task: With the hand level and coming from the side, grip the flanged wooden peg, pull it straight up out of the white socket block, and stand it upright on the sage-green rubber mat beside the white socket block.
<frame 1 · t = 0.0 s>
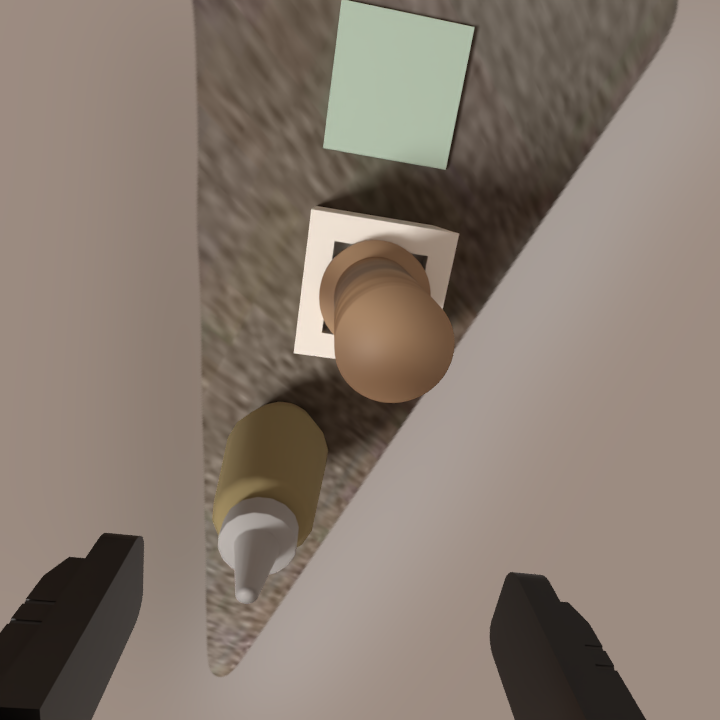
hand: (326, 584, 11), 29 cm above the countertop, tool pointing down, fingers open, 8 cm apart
mat: (396, 90, 33), on the countertop
squeeze bottle: (282, 430, 42), on the countertop
white socket block: (365, 274, 38), on the countertop
flanged wooden peg: (372, 291, 31), point 7 cm above the countertop, touching white socket block
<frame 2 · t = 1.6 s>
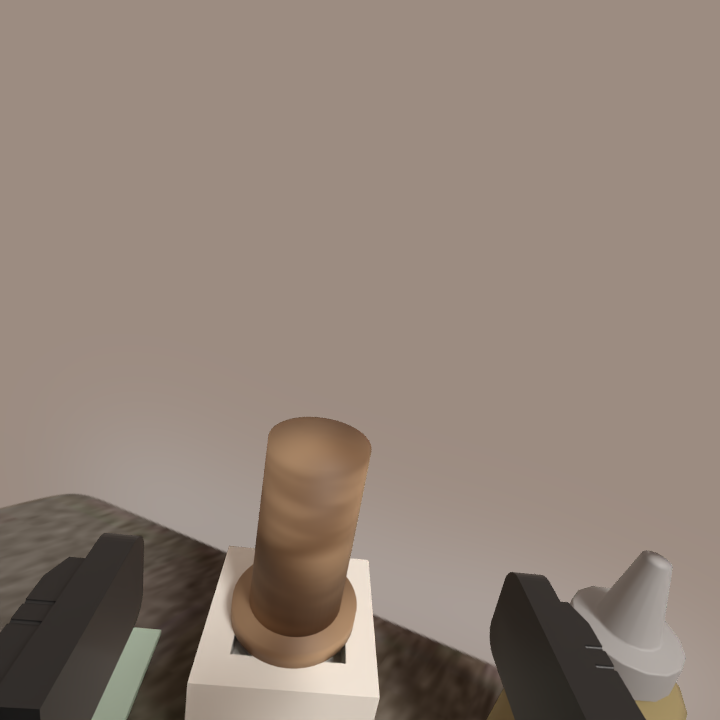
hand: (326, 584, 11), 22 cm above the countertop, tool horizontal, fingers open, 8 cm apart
mat: (55, 694, 28), on the countertop
white socket block: (277, 710, 29), on the countertop
flanged wooden peg: (291, 627, 27), point 7 cm above the countertop, touching white socket block
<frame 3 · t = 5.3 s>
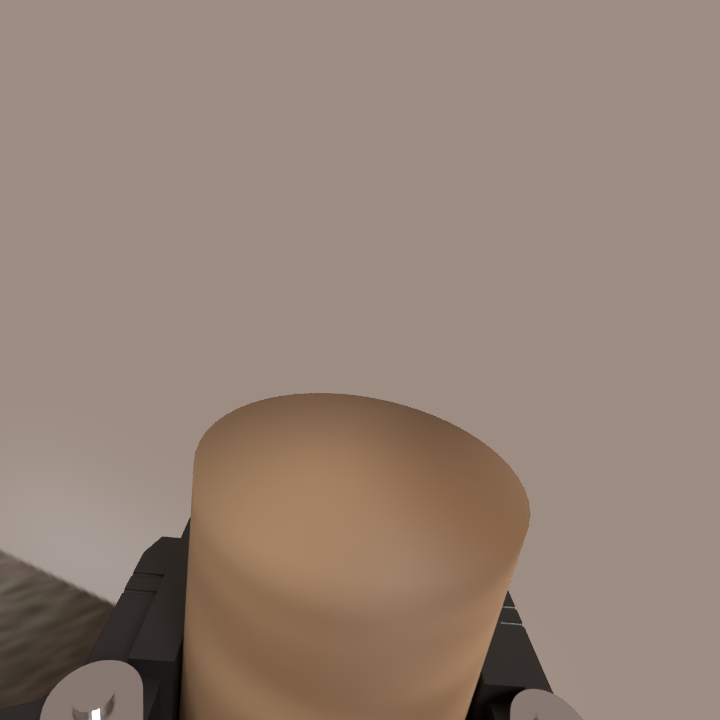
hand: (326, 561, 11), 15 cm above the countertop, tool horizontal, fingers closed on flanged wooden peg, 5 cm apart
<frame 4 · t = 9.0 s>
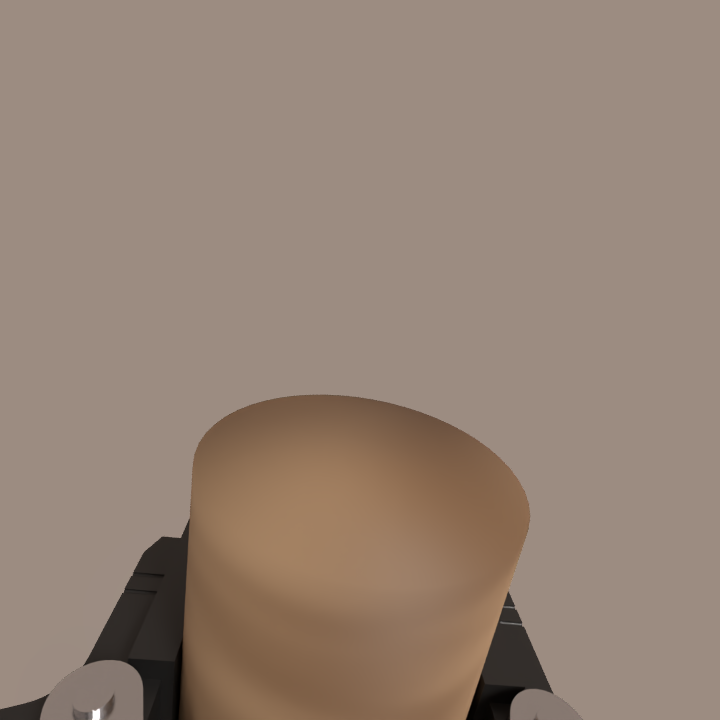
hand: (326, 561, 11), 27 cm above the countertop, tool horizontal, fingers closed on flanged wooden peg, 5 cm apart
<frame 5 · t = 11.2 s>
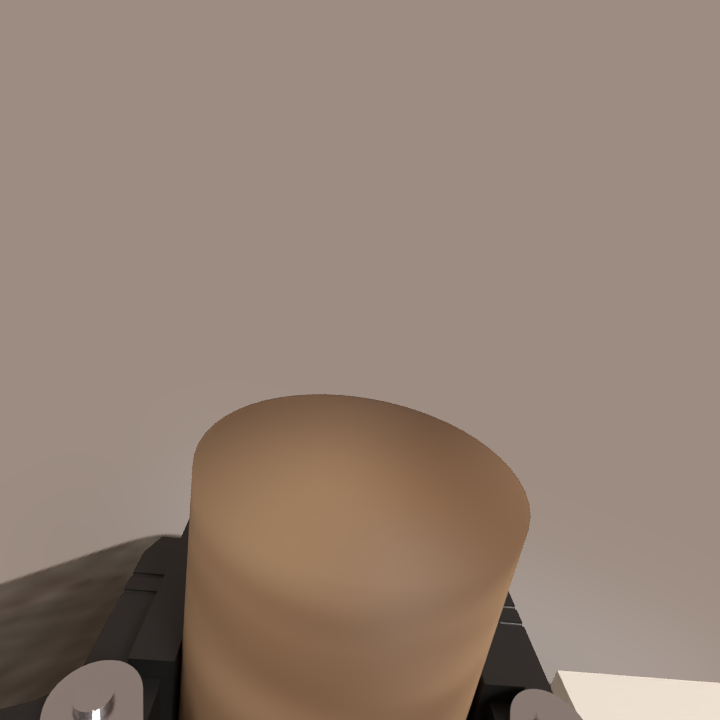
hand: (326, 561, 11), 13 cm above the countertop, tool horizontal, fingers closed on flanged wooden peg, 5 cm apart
when the fingers open (10 cm above the countertop, at t = 12.9 s): flanged wooden peg drops 2 cm, resting on mat.
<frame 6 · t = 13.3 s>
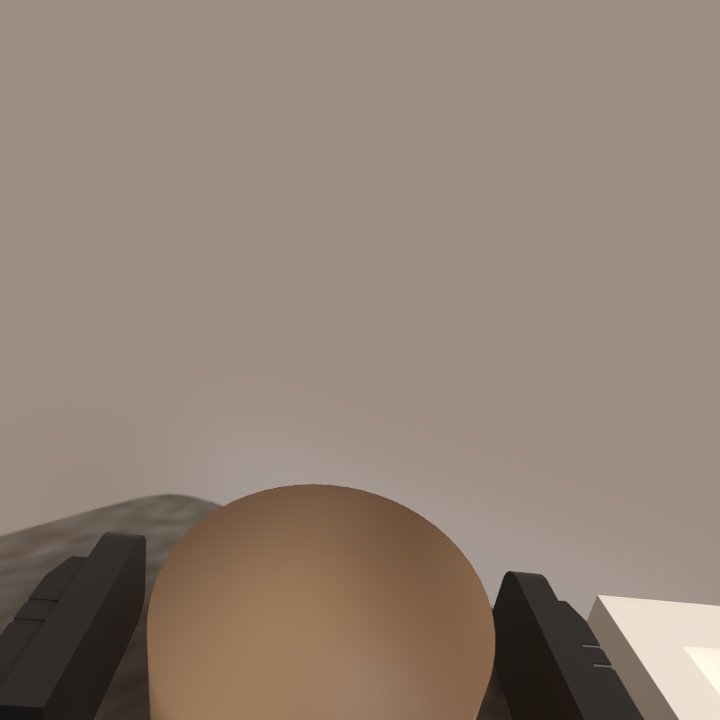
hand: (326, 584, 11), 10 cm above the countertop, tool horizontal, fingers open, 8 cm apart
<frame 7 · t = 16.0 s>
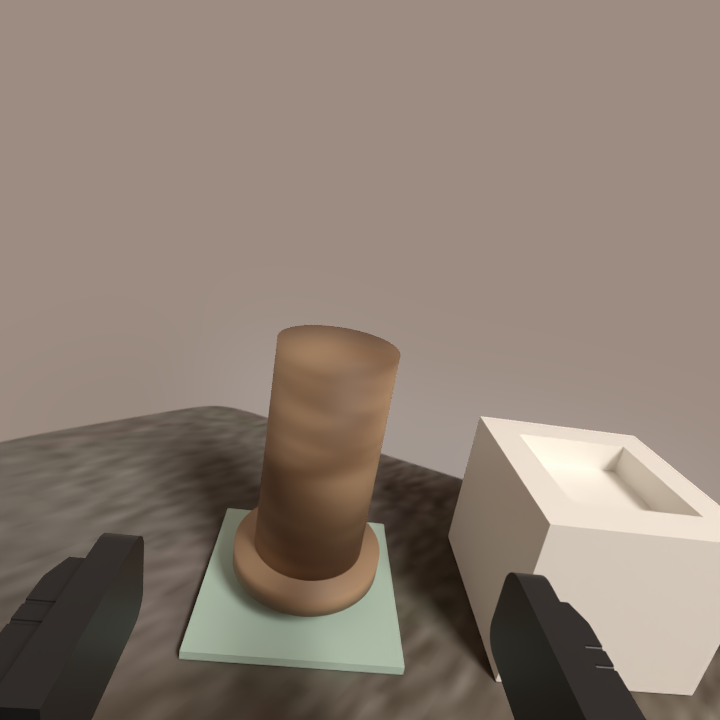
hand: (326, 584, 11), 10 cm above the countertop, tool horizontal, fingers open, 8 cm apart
mat: (300, 581, 24), on the countertop
white socket block: (551, 603, 25), on the countertop
flanged wooden peg: (302, 576, 23), resting on mat
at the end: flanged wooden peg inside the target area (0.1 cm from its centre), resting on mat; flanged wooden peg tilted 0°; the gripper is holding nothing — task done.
